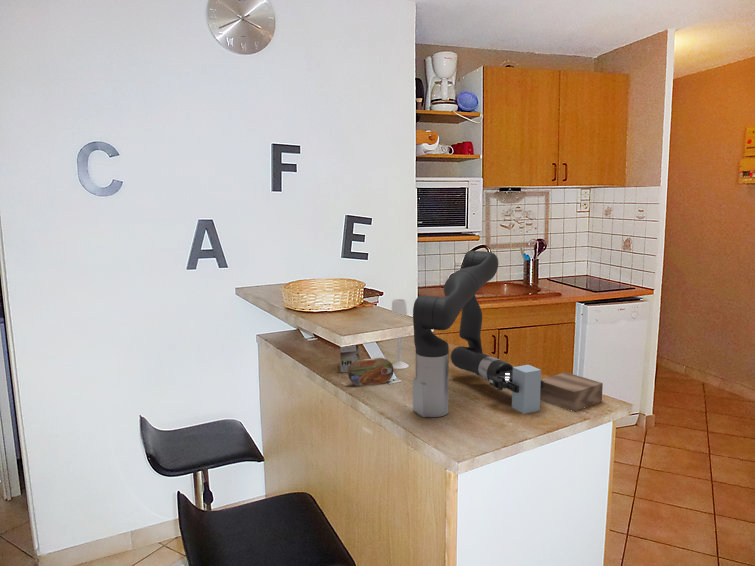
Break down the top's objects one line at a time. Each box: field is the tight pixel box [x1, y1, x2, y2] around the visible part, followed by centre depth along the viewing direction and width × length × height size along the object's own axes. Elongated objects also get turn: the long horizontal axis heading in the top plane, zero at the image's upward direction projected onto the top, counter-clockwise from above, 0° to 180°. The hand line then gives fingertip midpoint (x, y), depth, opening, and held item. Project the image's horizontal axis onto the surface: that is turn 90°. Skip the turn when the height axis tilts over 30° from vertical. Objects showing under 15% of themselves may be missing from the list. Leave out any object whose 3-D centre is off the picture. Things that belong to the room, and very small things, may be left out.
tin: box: [347, 357, 395, 387], centre depth 186 cm, size 15×3×8 cm, turn 105°
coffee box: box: [339, 344, 360, 373], centre depth 202 cm, size 9×6×16 cm
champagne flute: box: [391, 298, 410, 370], centre depth 203 cm, size 7×7×24 cm
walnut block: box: [540, 371, 603, 412], centre depth 169 cm, size 13×13×6 cm
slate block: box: [511, 364, 542, 415], centre depth 162 cm, size 6×6×12 cm
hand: (530, 387), depth 160 cm, fingers open, 8 cm apart
